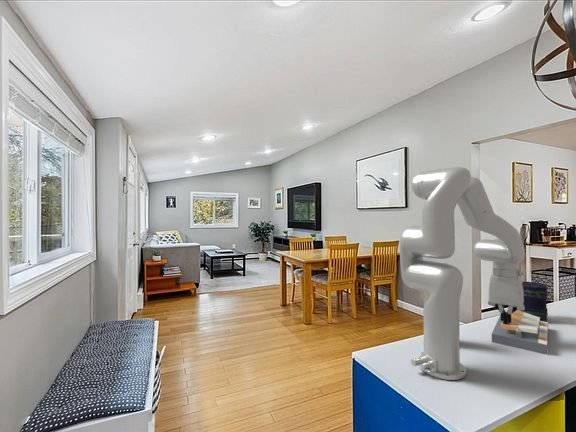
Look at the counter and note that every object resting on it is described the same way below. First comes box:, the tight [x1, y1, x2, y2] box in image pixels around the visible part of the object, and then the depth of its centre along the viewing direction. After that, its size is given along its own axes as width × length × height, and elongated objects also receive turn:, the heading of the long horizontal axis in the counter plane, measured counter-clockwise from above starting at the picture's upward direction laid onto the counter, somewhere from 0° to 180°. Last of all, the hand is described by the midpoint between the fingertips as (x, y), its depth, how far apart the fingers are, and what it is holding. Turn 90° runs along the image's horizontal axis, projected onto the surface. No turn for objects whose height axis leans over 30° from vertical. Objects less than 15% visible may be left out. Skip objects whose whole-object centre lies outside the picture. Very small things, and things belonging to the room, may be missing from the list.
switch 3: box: [501, 321, 538, 334], centre depth 105 cm, size 4×10×2 cm, turn 49°
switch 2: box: [511, 314, 539, 329], centre depth 111 cm, size 4×10×2 cm, turn 49°
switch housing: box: [491, 314, 549, 355], centre depth 111 cm, size 26×15×5 cm, turn 139°
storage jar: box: [519, 281, 549, 322], centre depth 128 cm, size 10×10×15 cm
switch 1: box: [512, 310, 540, 323], centre depth 117 cm, size 4×10×2 cm, turn 49°
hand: (506, 323), depth 108 cm, fingers closed
